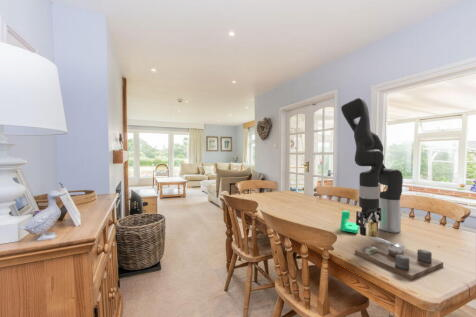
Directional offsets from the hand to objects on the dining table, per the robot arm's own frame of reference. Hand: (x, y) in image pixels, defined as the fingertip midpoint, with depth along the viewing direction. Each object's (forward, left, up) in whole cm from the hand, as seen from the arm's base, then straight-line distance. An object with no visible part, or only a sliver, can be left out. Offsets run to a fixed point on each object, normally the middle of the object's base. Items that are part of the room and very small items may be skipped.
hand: (369, 233), depth 93 cm
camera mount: (-14, -20, -8) cm, 26 cm away
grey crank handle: (-2, +5, -6) cm, 8 cm away
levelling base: (-2, +10, -8) cm, 12 cm away
